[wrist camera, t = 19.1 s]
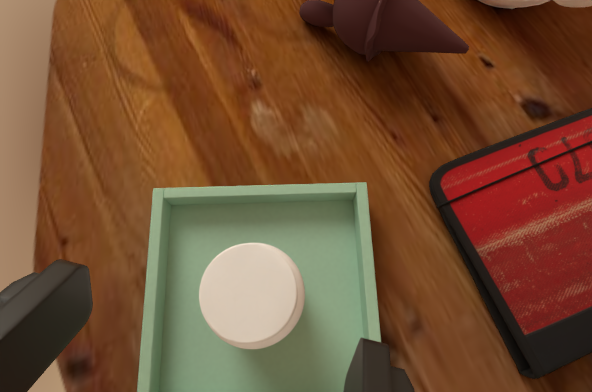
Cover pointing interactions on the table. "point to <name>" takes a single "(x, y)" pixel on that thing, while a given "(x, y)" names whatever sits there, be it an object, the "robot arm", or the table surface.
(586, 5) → the teapot
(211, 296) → the pill bottle
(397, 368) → the robot arm
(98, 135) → the table surface
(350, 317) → the tray
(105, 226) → the table surface
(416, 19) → the icecream
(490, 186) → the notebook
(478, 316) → the table surface
